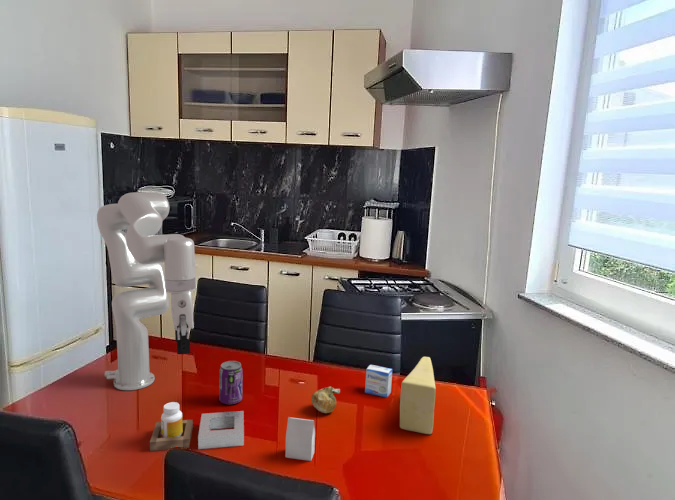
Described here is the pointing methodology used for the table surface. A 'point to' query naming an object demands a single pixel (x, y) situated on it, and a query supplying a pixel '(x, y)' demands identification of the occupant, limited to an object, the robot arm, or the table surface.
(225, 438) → the metal collar
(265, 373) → the table surface
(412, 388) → the cheese
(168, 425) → the supplement bottle
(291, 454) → the white boxy piece
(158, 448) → the brown square wooden frame
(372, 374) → the medicine box
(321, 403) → the onion
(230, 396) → the beverage can
